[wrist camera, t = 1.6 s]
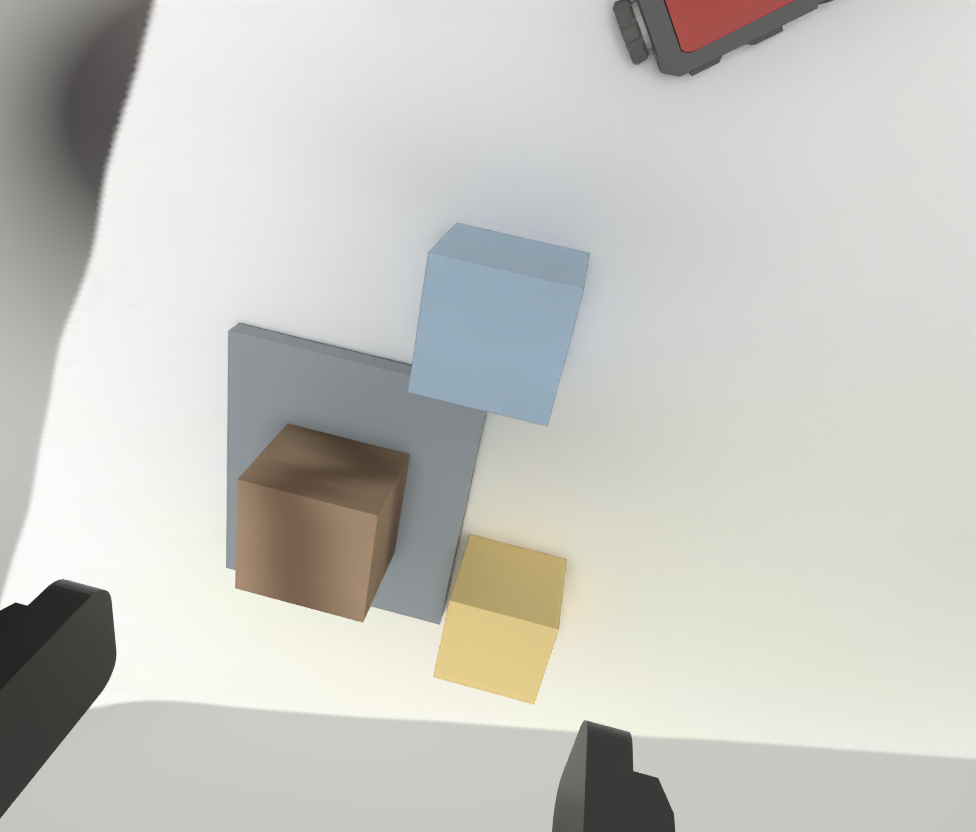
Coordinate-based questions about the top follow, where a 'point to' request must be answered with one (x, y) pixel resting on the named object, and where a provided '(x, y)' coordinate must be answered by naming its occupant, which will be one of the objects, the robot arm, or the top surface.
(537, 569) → the ochre brick
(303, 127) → the top surface
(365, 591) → the walnut brick
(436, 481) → the slate board
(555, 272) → the blue brick
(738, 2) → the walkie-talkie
